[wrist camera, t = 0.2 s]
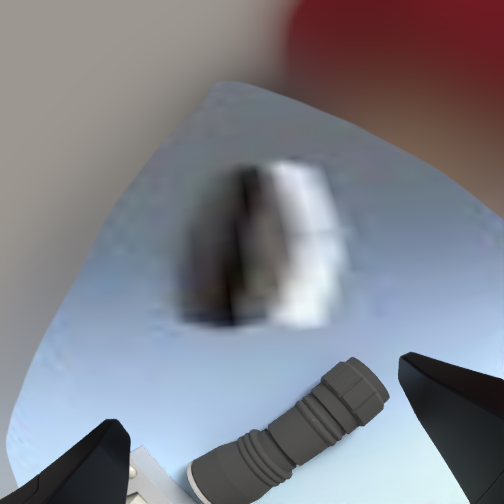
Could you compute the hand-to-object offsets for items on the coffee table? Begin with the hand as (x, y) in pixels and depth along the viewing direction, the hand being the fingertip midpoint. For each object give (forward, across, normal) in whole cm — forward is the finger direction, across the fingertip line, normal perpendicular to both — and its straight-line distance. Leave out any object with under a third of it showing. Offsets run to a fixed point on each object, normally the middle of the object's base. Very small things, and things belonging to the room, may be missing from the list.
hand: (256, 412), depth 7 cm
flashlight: (+10, 0, +13) cm, 16 cm away
